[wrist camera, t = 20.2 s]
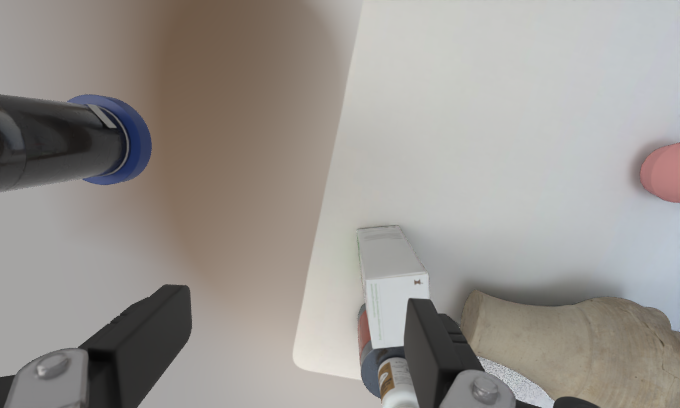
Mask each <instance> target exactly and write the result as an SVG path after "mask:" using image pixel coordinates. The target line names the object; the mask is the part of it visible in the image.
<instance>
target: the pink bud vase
mask: <svg viewBox="0 0 680 408" xmlns="http://www.w3.org/2000/svg"><path fill="white" fill-rule="evenodd" d="M640 181H641V183H642V185H643V187H644V188H645V189H646V190H648V191H649V192H650V193H652V194H654V195H656V196H657V197H659V198H661V199H663V200H666V201H670V202H676V203H680V143H676V144H672V145H668V146H664V147H661V148H659V149H657V150H655V151H654V152H652V153H651V154H650V155H649V156H648V157H647V158H646V160H645V161H644V163H643V164H642V167H641V171H640Z"/></svg>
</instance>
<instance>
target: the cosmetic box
mask: <svg viewBox="0 0 680 408" xmlns="http://www.w3.org/2000/svg"><path fill="white" fill-rule="evenodd" d="M357 240H358V249H359V259H360V268H361V276H362V284H363V291H364V298H365V305H366V311H367V317H368V323H369V330H370V336H371V342H372V348H373V349H377V348H388V347H397V346H404V330H405V321H406V311H407V303H408V299H409V298H420V299H430V285H429V274H428V272H427V271H426V270H425V268H424V266H423V265H422V263H421V261H420V260H419V258H418V257H417V255H416V253H415V252H414V250H413V249H412V247H411V245H410V244H409V242H408V240H407V239H406V237H405V235H404V234H403V232H402V230H401V229H400V227H399V226H398V225H395V226H385V227H375V228H366V229H358V230H357Z"/></svg>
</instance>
